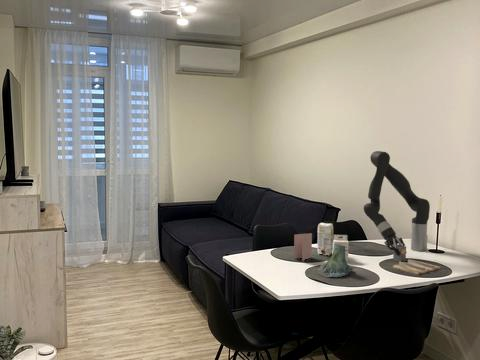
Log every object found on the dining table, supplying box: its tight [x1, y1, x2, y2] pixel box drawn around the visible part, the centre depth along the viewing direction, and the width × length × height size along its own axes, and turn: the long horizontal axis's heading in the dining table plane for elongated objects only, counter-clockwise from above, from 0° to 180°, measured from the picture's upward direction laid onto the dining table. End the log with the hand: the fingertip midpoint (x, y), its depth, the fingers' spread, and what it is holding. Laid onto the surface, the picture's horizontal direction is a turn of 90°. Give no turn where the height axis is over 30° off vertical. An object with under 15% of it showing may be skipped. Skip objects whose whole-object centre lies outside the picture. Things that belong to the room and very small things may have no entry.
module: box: [392, 244, 407, 262], centre depth 271 cm, size 5×5×8 cm
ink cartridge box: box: [333, 234, 350, 262], centre depth 272 cm, size 9×5×15 cm, turn 84°
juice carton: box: [316, 222, 334, 257], centre depth 285 cm, size 8×9×19 cm
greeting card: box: [293, 232, 313, 262], centre depth 272 cm, size 11×7×15 cm, turn 108°
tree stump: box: [317, 244, 354, 277], centre depth 248 cm, size 18×20×18 cm
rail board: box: [392, 258, 441, 276], centre depth 256 cm, size 20×16×2 cm
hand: (402, 254), depth 269 cm, fingers closed on module, 4 cm apart
